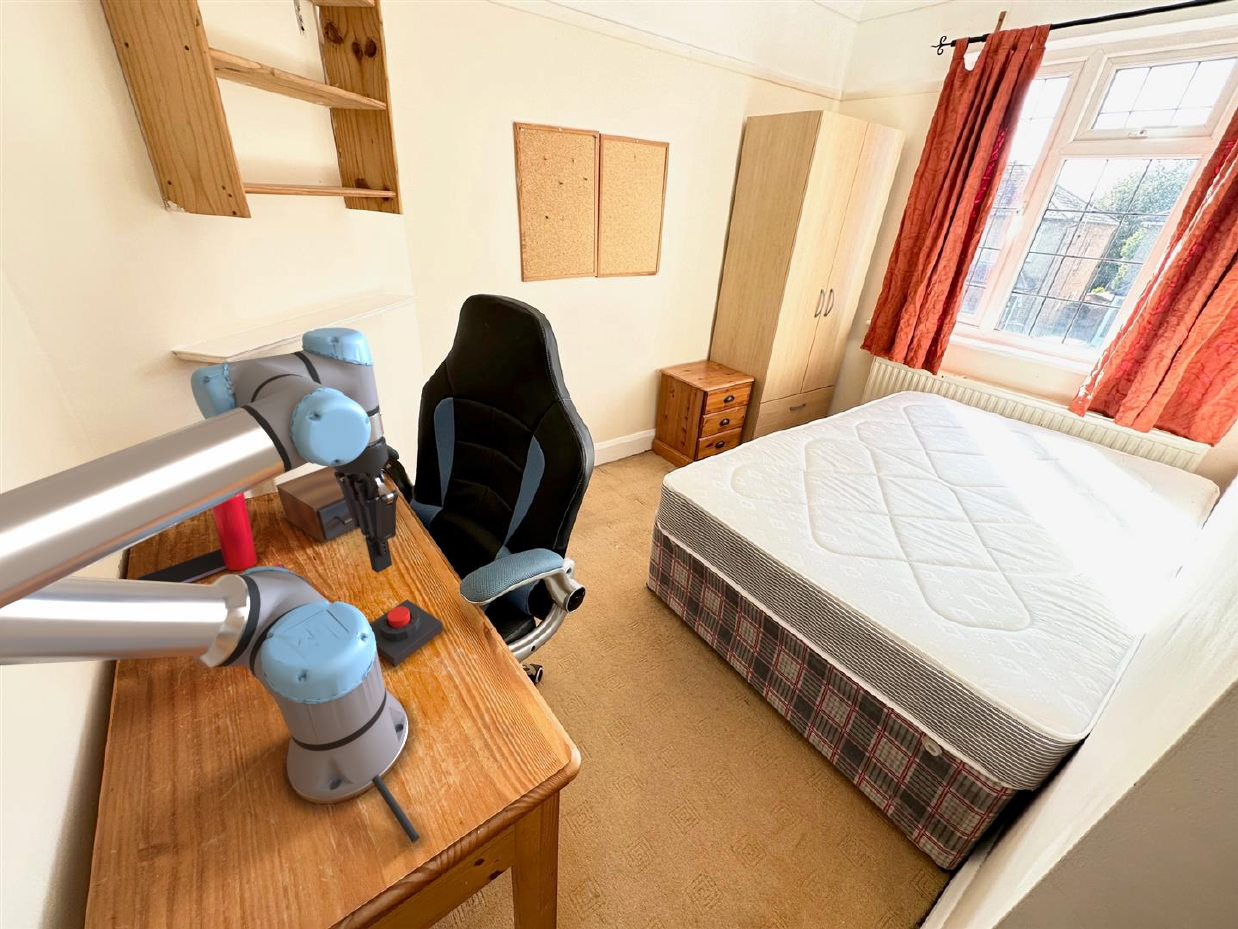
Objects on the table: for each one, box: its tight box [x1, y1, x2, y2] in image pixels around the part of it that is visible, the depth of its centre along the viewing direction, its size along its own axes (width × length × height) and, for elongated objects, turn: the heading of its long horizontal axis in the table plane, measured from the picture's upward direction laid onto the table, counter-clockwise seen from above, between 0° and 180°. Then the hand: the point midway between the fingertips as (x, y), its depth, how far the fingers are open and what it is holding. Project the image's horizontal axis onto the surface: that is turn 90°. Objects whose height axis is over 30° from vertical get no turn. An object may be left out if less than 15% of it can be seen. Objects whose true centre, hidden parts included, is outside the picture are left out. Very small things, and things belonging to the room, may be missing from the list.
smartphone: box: [134, 548, 228, 583], centre depth 98 cm, size 7×1×15 cm
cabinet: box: [275, 466, 356, 544], centre depth 116 cm, size 16×14×10 cm
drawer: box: [317, 498, 356, 541], centre depth 114 cm, size 19×12×8 cm, turn 58°
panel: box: [369, 598, 444, 668], centre depth 87 cm, size 10×10×4 cm
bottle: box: [210, 492, 258, 571], centre depth 97 cm, size 5×5×20 cm
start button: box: [387, 606, 410, 628], centre depth 86 cm, size 4×4×2 cm
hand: (382, 567), depth 80 cm, fingers closed
